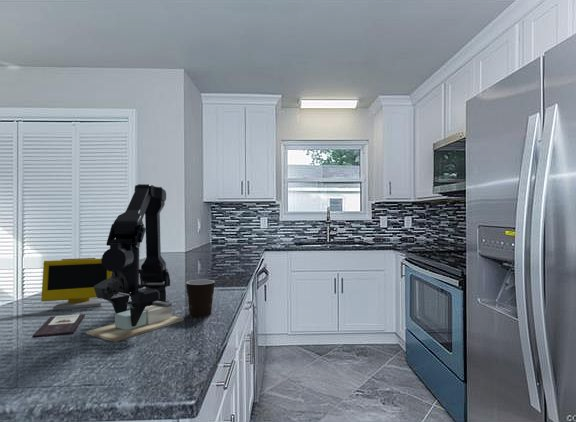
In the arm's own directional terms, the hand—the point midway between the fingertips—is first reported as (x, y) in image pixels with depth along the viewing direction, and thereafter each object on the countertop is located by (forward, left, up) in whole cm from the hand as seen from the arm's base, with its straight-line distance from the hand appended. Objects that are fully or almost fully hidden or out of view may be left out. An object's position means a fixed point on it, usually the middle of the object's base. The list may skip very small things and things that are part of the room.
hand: (127, 324), depth 101 cm
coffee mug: (+5, +23, -2) cm, 23 cm away
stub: (0, +1, -1) cm, 2 cm away
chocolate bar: (-18, -7, -2) cm, 20 cm away
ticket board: (0, +3, -1) cm, 3 cm away
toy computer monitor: (-36, +8, -2) cm, 37 cm away
